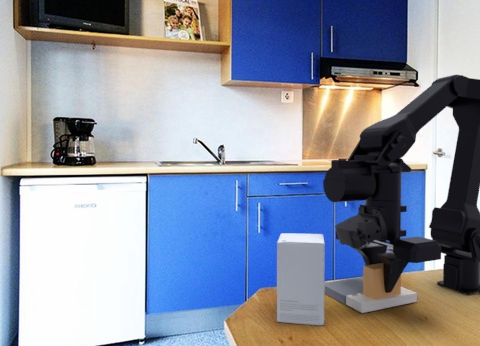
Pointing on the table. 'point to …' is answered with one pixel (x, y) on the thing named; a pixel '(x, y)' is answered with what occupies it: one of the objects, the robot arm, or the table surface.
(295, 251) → the supplement box
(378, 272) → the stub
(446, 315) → the table surface
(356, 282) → the board
